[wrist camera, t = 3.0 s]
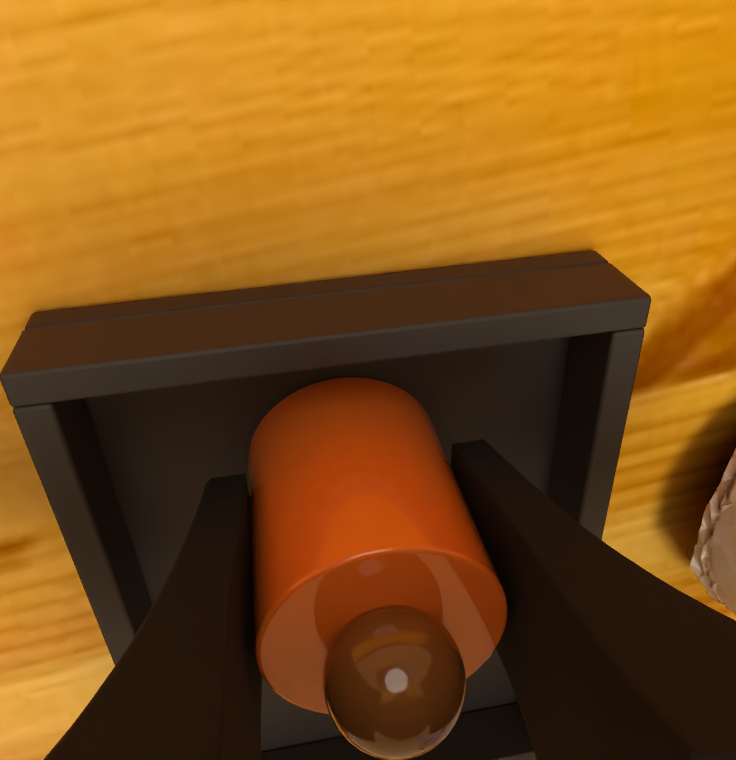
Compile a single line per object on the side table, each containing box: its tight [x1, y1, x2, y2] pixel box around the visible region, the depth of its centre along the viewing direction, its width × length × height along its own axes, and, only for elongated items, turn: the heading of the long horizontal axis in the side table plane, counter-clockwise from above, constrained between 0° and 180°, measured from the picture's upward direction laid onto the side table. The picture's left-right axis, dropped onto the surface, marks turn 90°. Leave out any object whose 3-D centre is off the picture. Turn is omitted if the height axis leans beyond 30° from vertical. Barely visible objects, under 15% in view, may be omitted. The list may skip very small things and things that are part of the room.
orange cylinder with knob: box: [247, 377, 508, 760], centre depth 11 cm, size 4×4×6 cm
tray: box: [0, 251, 651, 760], centre depth 15 cm, size 14×10×2 cm
